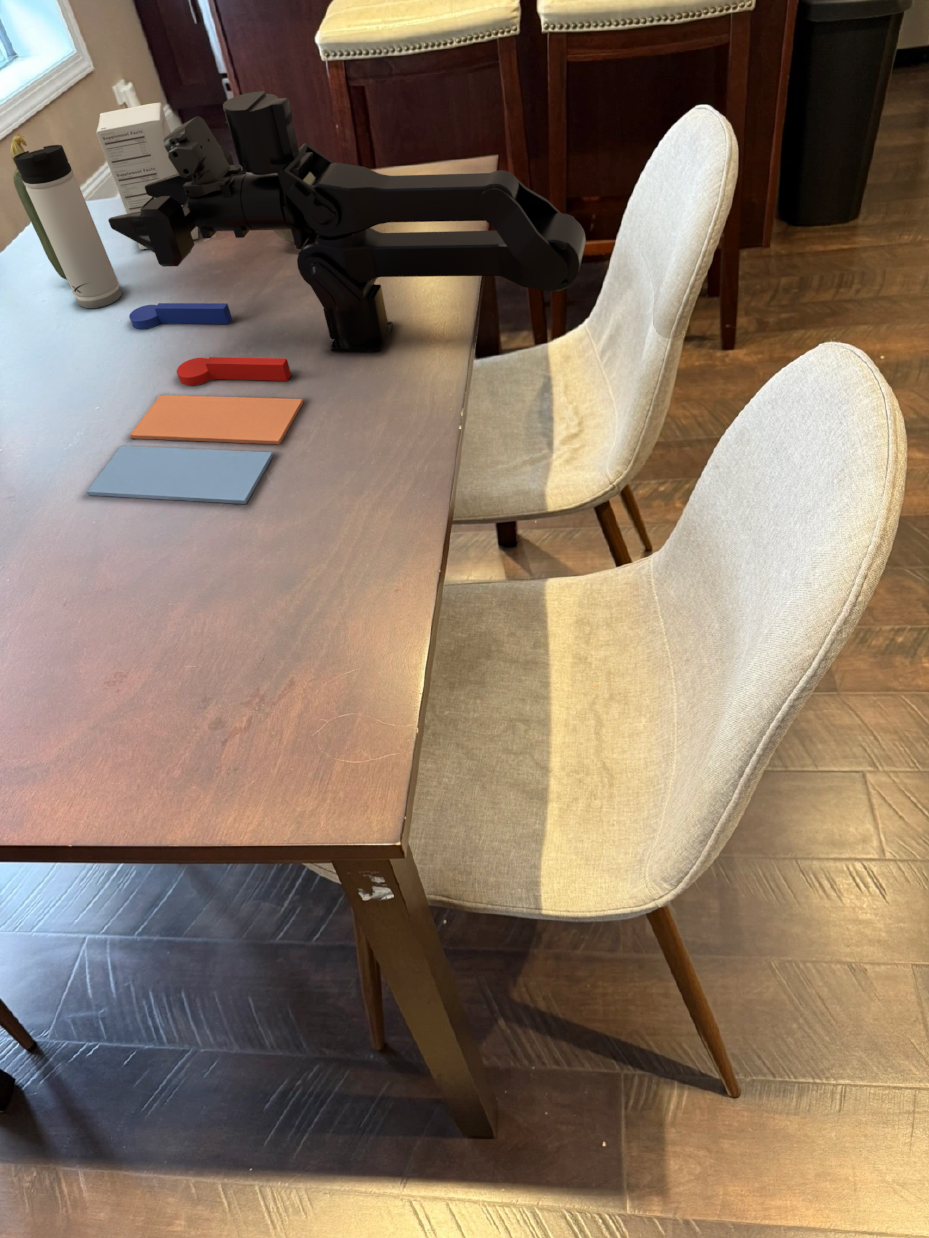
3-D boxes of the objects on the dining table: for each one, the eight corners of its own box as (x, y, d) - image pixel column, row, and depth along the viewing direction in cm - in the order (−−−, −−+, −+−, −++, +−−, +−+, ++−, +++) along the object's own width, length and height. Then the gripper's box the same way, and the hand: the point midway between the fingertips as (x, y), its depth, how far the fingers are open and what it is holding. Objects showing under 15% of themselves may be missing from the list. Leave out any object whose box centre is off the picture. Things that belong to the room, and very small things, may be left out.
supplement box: (199, 240, 133) (160, 119, 121) (139, 251, 132) (94, 132, 120) (198, 216, 140) (161, 100, 127) (141, 227, 139) (98, 111, 126)
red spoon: (295, 368, 104) (291, 351, 102) (283, 388, 101) (278, 371, 100) (188, 365, 107) (182, 349, 105) (173, 385, 104) (167, 369, 103)
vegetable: (53, 287, 127) (-16, 140, 112) (72, 274, 129) (7, 128, 115) (77, 290, 125) (10, 141, 111) (96, 276, 128) (33, 129, 113)
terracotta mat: (303, 402, 99) (302, 399, 98) (279, 444, 93) (278, 440, 93) (161, 398, 102) (160, 394, 102) (131, 438, 97) (129, 434, 97)
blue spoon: (236, 313, 115) (231, 297, 114) (224, 330, 112) (219, 314, 111) (141, 312, 118) (135, 297, 117) (126, 329, 115) (120, 313, 114)
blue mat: (273, 456, 92) (272, 452, 92) (246, 504, 87) (244, 500, 87) (123, 449, 96) (121, 445, 96) (88, 495, 91) (86, 491, 90)
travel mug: (83, 314, 120) (13, 161, 105) (75, 296, 124) (7, 146, 109) (127, 301, 121) (65, 147, 107) (117, 283, 125) (56, 133, 111)
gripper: (261, 94, 97) (138, 101, 101) (194, 158, 85) (56, 164, 88) (287, 196, 105) (171, 200, 109) (229, 268, 93) (101, 269, 97)
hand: (128, 206), depth 100 cm, fingers open, 9 cm apart
